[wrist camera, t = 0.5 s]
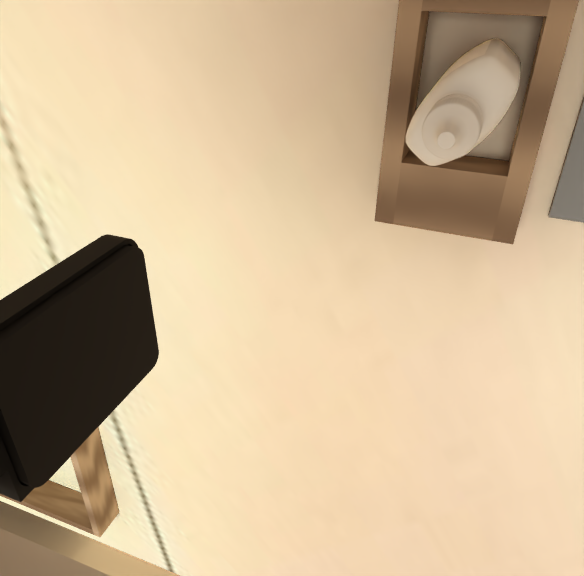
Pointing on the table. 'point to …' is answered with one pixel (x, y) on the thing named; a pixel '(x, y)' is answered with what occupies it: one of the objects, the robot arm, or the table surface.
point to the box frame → (94, 492)
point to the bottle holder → (466, 170)
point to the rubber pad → (571, 178)
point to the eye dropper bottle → (465, 103)
